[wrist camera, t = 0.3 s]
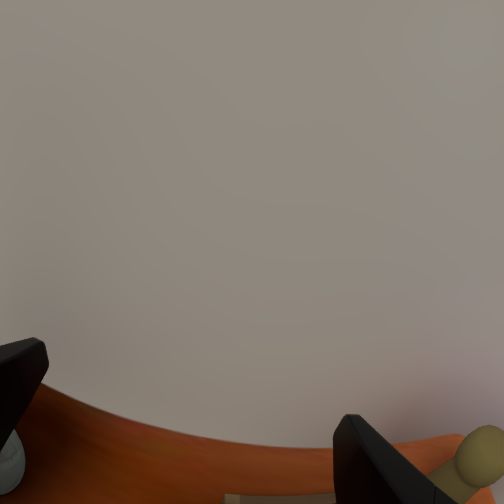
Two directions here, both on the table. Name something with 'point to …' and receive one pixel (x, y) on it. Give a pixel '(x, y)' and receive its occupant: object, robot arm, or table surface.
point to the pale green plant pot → (11, 464)
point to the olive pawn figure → (472, 464)
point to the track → (280, 499)
